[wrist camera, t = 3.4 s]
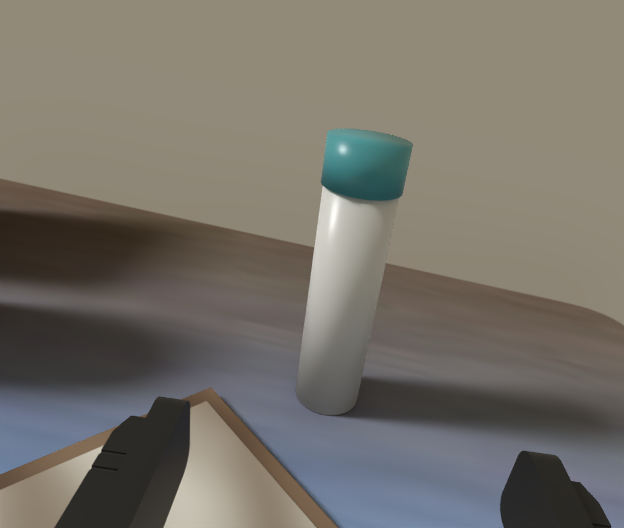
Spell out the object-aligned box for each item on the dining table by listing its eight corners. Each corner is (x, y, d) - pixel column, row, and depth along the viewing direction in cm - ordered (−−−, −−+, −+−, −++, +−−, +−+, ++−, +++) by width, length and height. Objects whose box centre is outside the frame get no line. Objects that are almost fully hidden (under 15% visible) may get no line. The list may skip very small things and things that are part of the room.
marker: (324, 426, 23) (372, 151, 17) (280, 385, 25) (309, 130, 19) (372, 399, 25) (430, 146, 19) (328, 363, 27) (367, 127, 21)
